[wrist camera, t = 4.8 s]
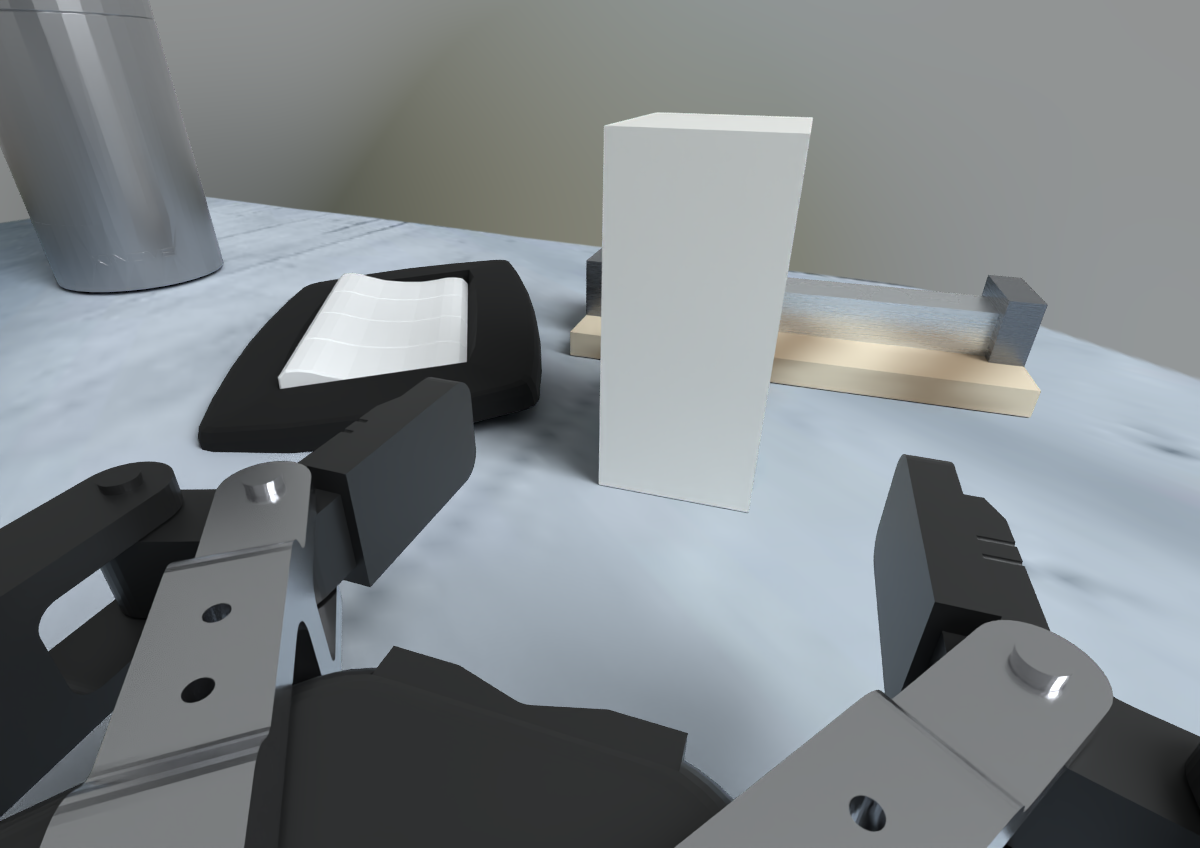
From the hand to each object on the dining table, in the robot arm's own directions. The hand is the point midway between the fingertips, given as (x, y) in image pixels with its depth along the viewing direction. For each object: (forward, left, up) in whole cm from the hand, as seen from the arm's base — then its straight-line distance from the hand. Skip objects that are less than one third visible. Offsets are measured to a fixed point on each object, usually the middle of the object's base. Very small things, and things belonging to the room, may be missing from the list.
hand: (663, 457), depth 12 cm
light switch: (-22, +1, -7) cm, 23 cm away
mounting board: (-12, +18, -6) cm, 22 cm away
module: (-7, +7, -6) cm, 12 cm away
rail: (-12, +18, -5) cm, 22 cm away
